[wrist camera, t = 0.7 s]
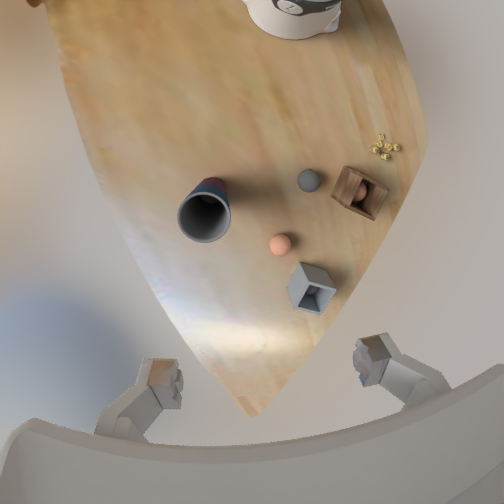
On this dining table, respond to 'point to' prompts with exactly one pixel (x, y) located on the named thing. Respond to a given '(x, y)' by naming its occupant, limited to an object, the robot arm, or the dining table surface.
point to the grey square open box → (301, 282)
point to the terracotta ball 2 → (360, 192)
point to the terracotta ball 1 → (280, 245)
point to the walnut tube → (349, 186)
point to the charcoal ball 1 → (308, 180)
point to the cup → (205, 212)
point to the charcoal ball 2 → (311, 290)
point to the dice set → (387, 146)
